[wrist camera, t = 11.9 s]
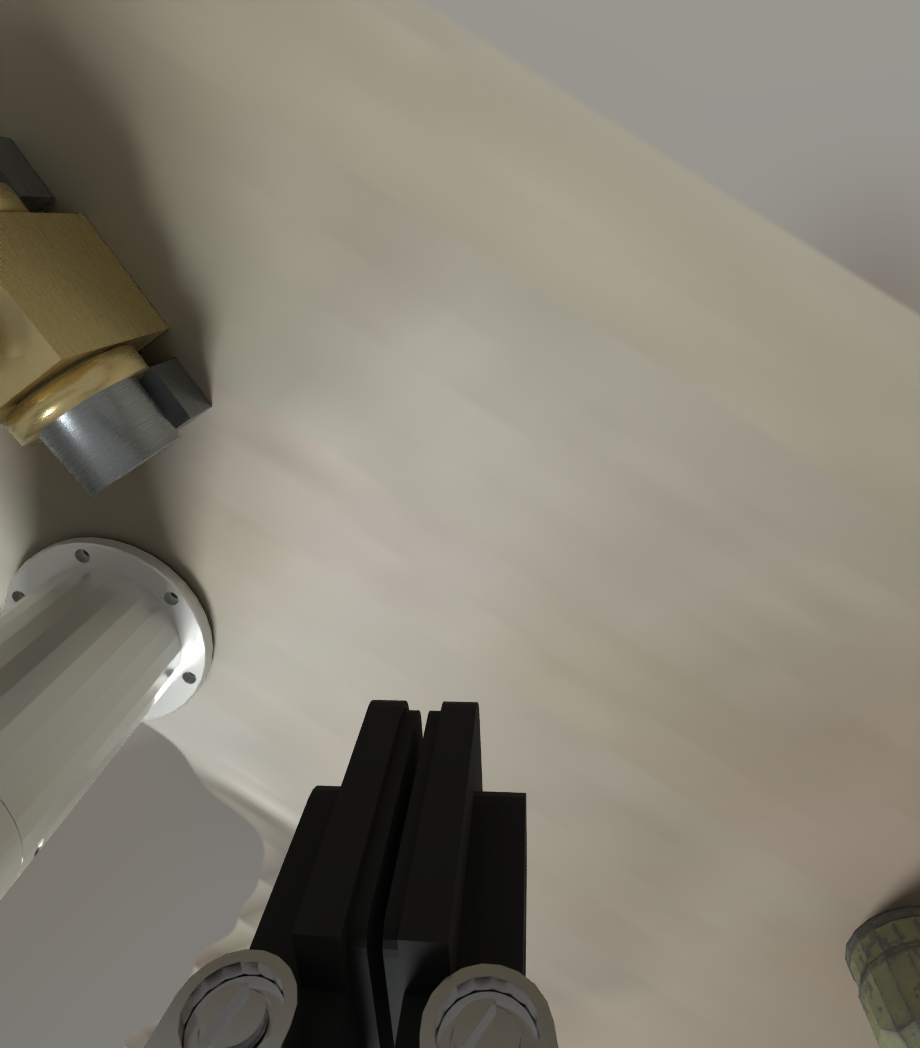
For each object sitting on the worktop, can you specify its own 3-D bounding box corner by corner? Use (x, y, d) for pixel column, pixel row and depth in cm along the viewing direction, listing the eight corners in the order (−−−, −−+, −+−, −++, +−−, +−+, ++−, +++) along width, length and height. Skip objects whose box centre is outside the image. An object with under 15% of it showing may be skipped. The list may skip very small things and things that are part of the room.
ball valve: (140, 467, 39) (36, 531, 31) (-75, 201, 35) (-262, 195, 27) (229, 406, 38) (143, 457, 29) (14, 117, 33) (-159, 82, 25)
